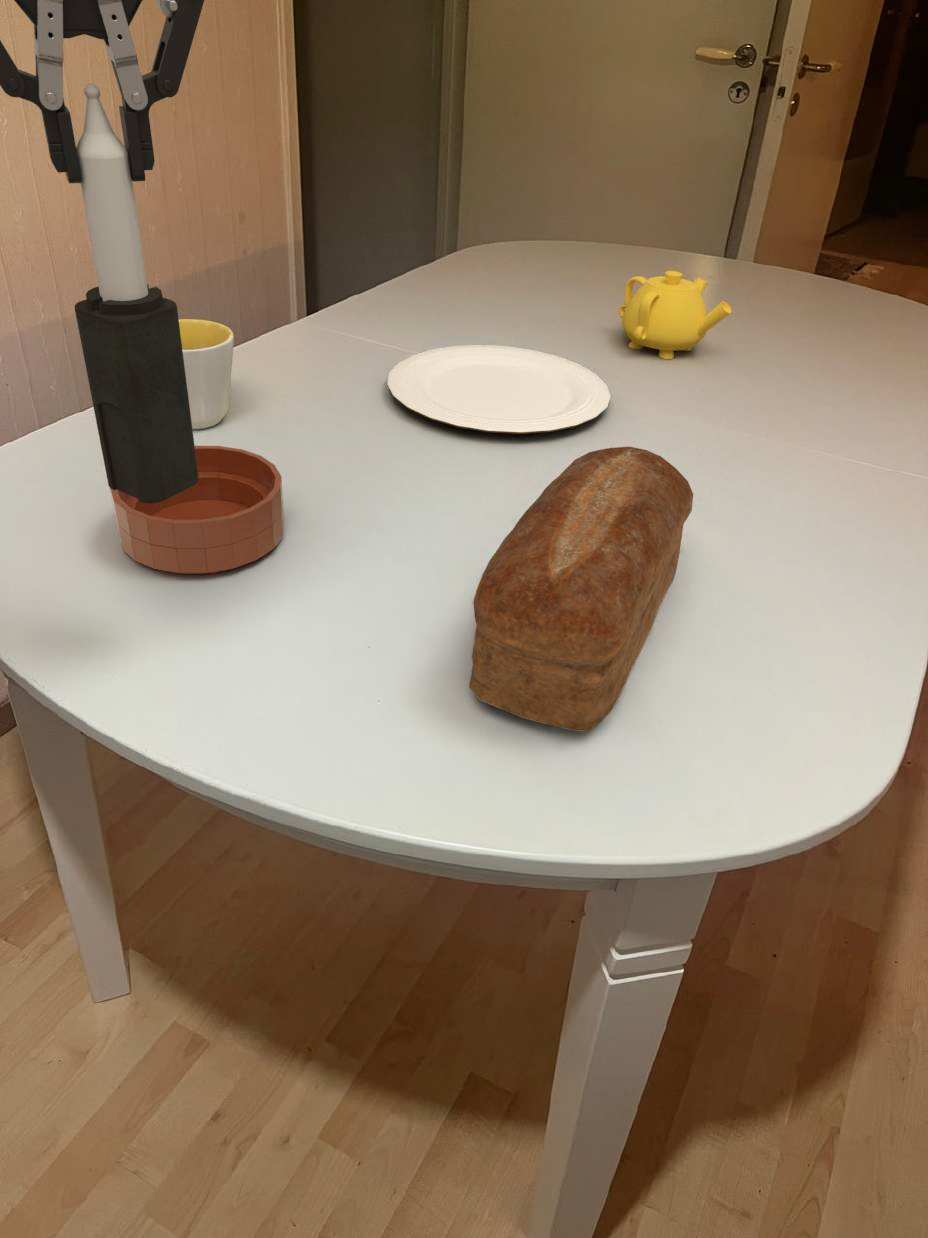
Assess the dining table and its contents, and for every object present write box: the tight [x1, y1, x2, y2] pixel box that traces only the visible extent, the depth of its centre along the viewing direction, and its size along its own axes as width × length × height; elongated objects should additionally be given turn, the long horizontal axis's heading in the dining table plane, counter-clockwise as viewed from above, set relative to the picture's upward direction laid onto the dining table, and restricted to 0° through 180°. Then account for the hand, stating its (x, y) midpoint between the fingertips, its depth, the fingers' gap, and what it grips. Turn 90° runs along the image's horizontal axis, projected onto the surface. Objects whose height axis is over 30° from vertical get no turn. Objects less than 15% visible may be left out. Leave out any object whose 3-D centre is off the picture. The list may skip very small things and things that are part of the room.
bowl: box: [109, 445, 285, 575], centre depth 87 cm, size 15×15×6 cm
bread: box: [468, 446, 694, 732], centre depth 77 cm, size 12×31×14 cm, turn 157°
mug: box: [178, 318, 235, 430], centre depth 108 cm, size 14×10×10 cm
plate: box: [387, 344, 611, 435], centre depth 121 cm, size 29×29×2 cm
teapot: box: [618, 270, 732, 360], centre depth 138 cm, size 14×14×11 cm
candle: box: [74, 83, 199, 503], centre depth 59 cm, size 5×5×25 cm
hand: (105, 177), depth 55 cm, fingers closed on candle, 3 cm apart
